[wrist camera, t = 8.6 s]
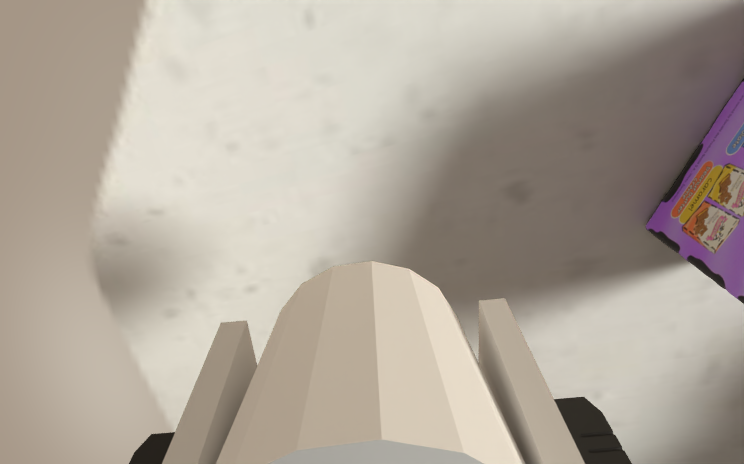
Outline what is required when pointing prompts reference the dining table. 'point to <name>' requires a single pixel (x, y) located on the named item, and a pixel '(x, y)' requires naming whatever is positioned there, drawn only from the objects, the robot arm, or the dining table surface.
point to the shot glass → (369, 379)
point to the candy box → (710, 203)
